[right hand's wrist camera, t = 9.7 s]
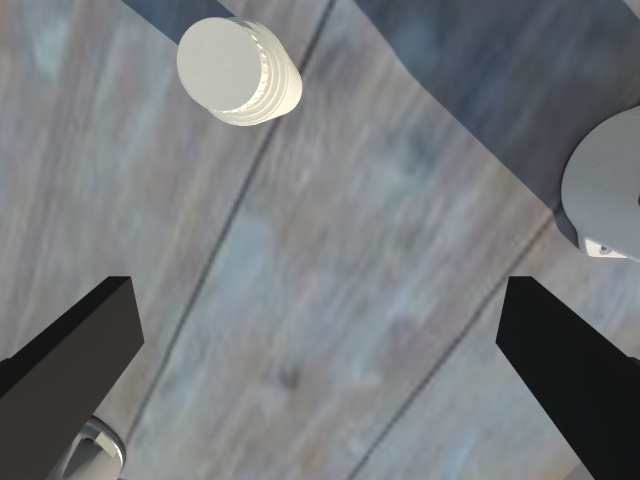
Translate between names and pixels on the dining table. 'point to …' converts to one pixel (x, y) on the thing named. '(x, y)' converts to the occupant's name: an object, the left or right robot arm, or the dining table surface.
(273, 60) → the bottle
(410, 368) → the dining table surface
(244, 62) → the cap
